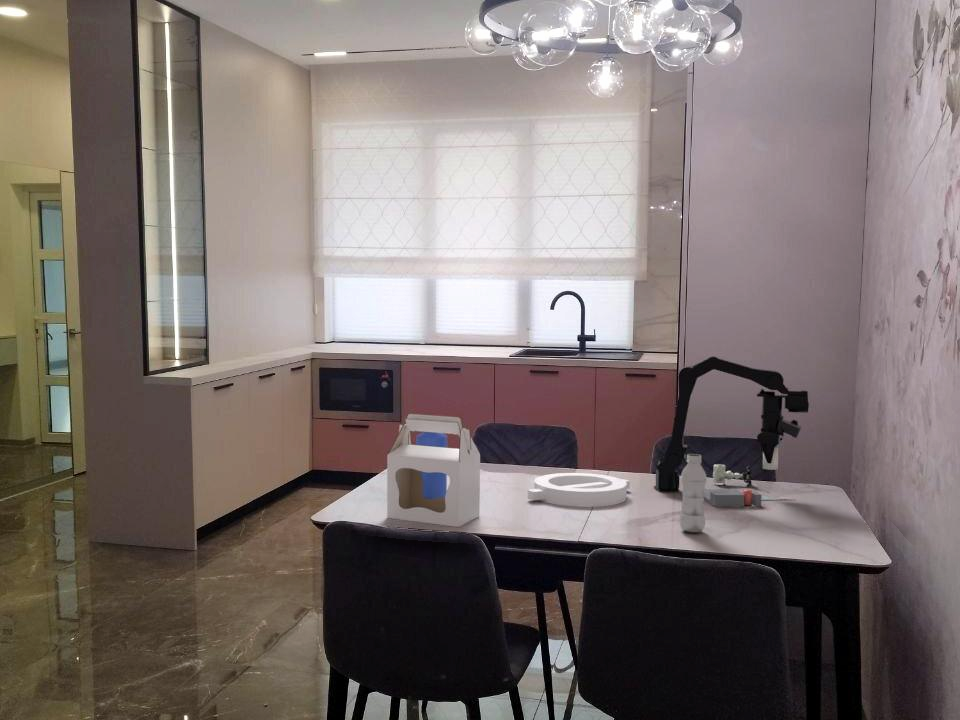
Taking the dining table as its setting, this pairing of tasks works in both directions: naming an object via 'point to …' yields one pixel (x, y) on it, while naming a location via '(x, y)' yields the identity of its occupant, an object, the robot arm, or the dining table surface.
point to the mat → (769, 498)
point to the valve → (730, 474)
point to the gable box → (412, 459)
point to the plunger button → (747, 497)
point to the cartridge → (774, 463)
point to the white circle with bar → (579, 489)
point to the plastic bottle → (693, 495)
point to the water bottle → (433, 481)
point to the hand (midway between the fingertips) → (770, 462)
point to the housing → (729, 498)
